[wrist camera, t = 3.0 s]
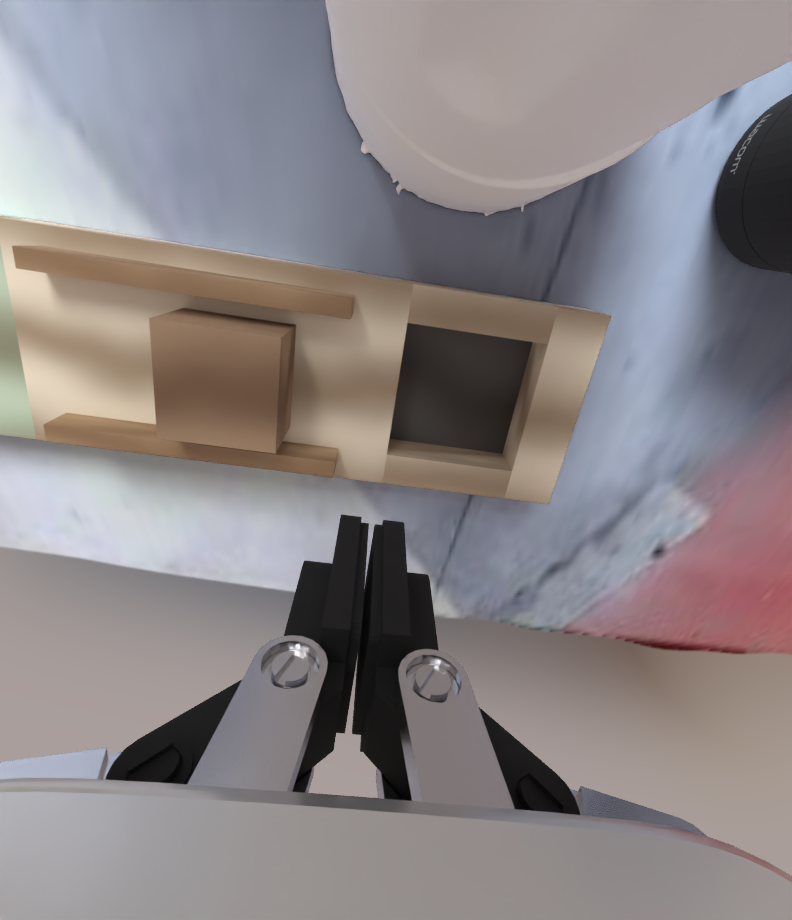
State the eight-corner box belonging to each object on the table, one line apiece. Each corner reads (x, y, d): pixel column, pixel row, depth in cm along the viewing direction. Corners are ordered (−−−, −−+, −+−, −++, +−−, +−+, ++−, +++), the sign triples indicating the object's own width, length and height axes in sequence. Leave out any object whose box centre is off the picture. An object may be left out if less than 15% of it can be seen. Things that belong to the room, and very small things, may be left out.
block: (183, 307, 25) (148, 318, 21) (296, 324, 25) (281, 337, 22) (187, 413, 27) (157, 438, 24) (290, 426, 28) (275, 453, 24)
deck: (-119, 194, 25) (-231, 183, 20) (589, 309, 28) (628, 321, 24) (-62, 405, 30) (-142, 433, 25) (535, 482, 33) (559, 520, 29)
